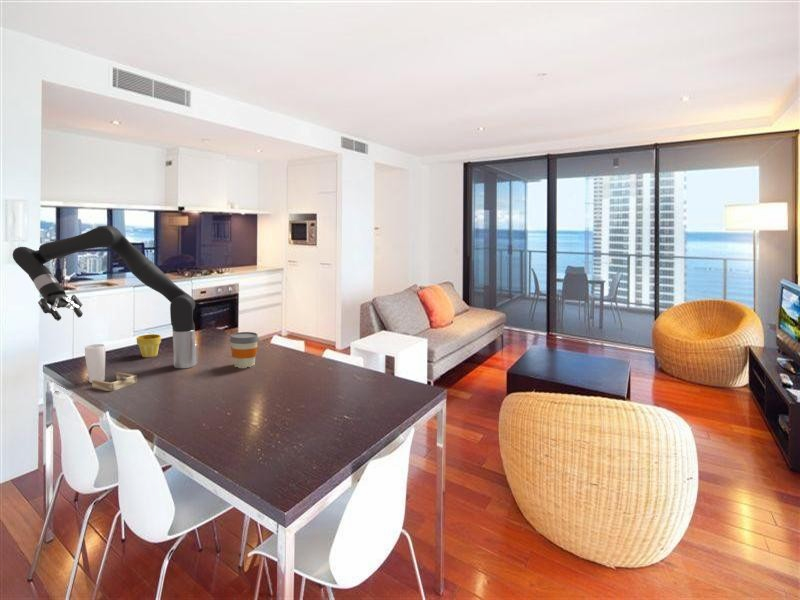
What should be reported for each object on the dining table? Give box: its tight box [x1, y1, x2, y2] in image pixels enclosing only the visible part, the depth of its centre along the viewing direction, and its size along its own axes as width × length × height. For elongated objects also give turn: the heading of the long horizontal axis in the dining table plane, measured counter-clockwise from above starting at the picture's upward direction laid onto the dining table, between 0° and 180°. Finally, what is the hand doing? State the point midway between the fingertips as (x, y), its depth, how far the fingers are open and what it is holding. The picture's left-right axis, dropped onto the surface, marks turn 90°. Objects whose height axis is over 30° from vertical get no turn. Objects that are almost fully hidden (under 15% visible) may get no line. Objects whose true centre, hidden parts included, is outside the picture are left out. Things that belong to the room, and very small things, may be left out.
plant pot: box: [136, 333, 162, 358], centre depth 214 cm, size 10×10×10 cm
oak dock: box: [91, 371, 138, 392], centre depth 174 cm, size 11×10×4 cm
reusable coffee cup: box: [229, 331, 259, 369], centre depth 205 cm, size 12×13×15 cm
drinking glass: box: [84, 343, 106, 384], centre depth 176 cm, size 7×7×15 cm
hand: (70, 317), depth 178 cm, fingers open, 8 cm apart
